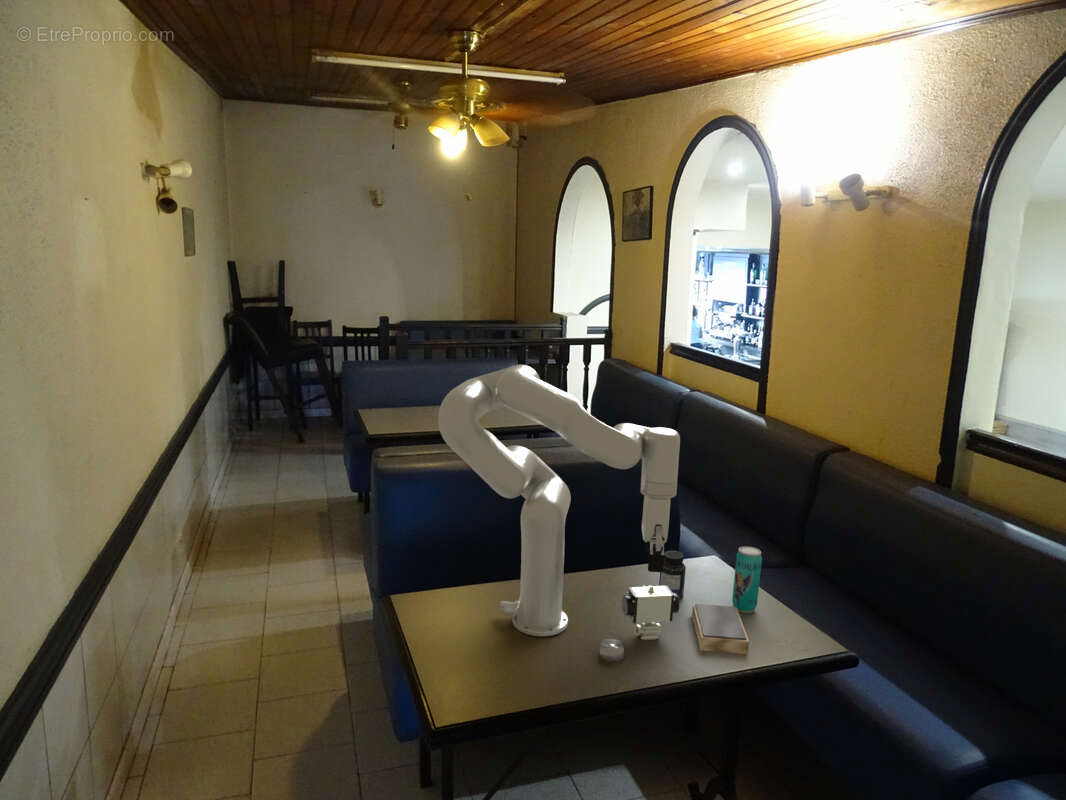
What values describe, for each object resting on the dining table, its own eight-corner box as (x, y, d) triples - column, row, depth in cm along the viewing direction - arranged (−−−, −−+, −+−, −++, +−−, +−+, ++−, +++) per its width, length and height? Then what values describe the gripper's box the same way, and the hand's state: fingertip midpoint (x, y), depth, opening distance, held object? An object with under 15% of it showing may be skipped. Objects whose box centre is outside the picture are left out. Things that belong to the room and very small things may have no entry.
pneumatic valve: (676, 640, 161) (681, 590, 158) (625, 643, 159) (628, 592, 156) (668, 627, 166) (672, 578, 164) (618, 630, 164) (621, 581, 161)
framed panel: (700, 650, 157) (701, 636, 156) (691, 616, 172) (693, 602, 171) (747, 654, 156) (749, 639, 156) (735, 619, 171) (736, 605, 170)
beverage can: (727, 608, 176) (732, 550, 173) (738, 600, 180) (744, 543, 177) (749, 617, 172) (755, 557, 169) (760, 609, 176) (766, 550, 173)
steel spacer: (599, 661, 152) (600, 650, 152) (599, 648, 157) (600, 637, 156) (623, 663, 152) (624, 652, 151) (623, 650, 156) (623, 639, 156)
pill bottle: (668, 587, 186) (671, 547, 183) (688, 596, 181) (691, 555, 179) (653, 595, 181) (656, 553, 179) (673, 604, 177) (676, 561, 175)
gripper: (638, 473, 164) (634, 544, 167) (643, 499, 147) (638, 578, 151) (672, 474, 163) (667, 546, 167) (681, 501, 146) (675, 580, 150)
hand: (653, 561), depth 159 cm, fingers open, 9 cm apart
